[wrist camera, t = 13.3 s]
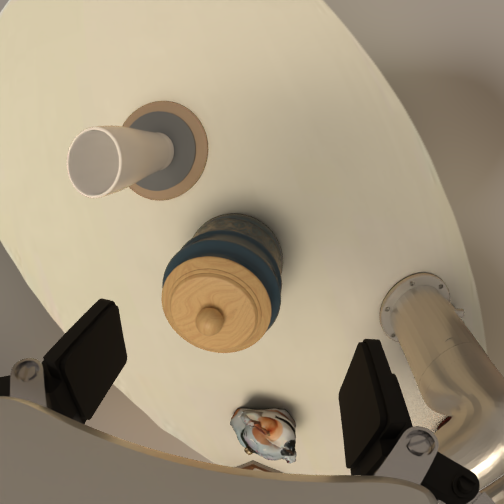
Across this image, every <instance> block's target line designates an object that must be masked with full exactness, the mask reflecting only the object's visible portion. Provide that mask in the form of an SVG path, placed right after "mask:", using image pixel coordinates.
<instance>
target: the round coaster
mask: <svg viewBox="0 0 504 504" xmlns="http://www.w3.org/2000/svg"><path fill="white" fill-rule="evenodd" d="M123 127H129V128H135V129H140V130H145V131H150V132H160V133H163V134H165V135H167V136H168V137H169V138H170V139H171V141H172V143H173V146H174V157H173V159H172V161H171V163H170V164H169V166H168V167H166V168H165V169H163V170H161V171H158V172H156V173H154V174H152V175H150V176H148V177H146V178H144V179H142V180H140V181H138V182H137V183H135V184H133V185H131V186H129V187H130V189H132V190H133V191H134V192H135V193H137V194H139V195H140V196H142V197H145V198H148V199H151V200H169V199H172V198H175V197H178V196H180V195H182V194H183V193H185V192H186V191H188V190H189V189H190V188H191V187H192V186H193V185H194V184H195V183H196V182H197V180H198V179H199V178H200V176H201V174H202V172H203V170H204V168H205V165H206V161H207V155H208V143H207V137H206V133H205V130H204V128H203V126H202V124H201V122H200V121H199V119H198V118H197V117H196V116H195V115H194V114H193V113H192V112H191V111H190V110H189V109H187V108H186V107H184V106H182V105H180V104H177V103H174V102H169V101H158V102H152V103H149V104H146V105H144V106H142V107H140V108H139V109H137V110H136V111H135V112H133V113H132V114H131V115H130V116H129V117H128V119H127V120H126V121H125V123H124V124H123Z"/></svg>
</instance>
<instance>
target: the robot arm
mask: <svg viewBox="0 0 504 504" xmlns="http://www.w3.org/2000/svg"><path fill="white" fill-rule="evenodd" d="M463 316H464V310H463V309H455V308H454V307H453V306H452V304H451V303H450V293H449V290H448V288H447V286H446V285H445V283H444V282H443V281H442V280H441V279H440V278H438V277H437V276H435V275H432V274H428V273H419V274H415V275H411V276H409V277H407V278H405V279H403V280H402V281H400V282H399V283H397V284H396V285H395V286H394V287H393V288H392V289H391V290H390V292H389V293H388V294H387V296H386V297H385V299H384V301H383V303H382V306H381V310H380V323H381V326H382V328H383V331H384V332H385V334H386V335H387V336H388V337H389V338H390V339H392V340H394V341H397V342H399V343H400V345H401V347H402V350H403V352H404V354H405V356H406V359H407V361H408V363H409V366H410V368H411V371H412V373H413V375H414V378H415V380H416V383H417V385H418V388H419V390H420V393H421V395H422V398H423V400H424V402H425V403H426V404H427V406H428V407H429V408H431V409H432V410H433V411H435V412H437V413H440V414H443V415H446V416H451V417H452V418H451V420H450V421H449V422H447V423H446V424H445V425H444V426H442V427H441V428H440V429H439V430H438V431H436V432H435V433H433V432H432V431H430V430H429V429H427V428H424V427H419V426H416V427H413V426H412V423H411V419H410V416H409V413H408V410H407V407H406V404H405V401H404V398H403V395H402V392H401V389H400V386H399V383H398V380H397V377H396V375H395V374H392V373H391V370H390V367H389V364H388V361H387V359H386V356H385V353H384V350H383V348H382V345H381V342H380V340H375V339H364V340H363V342H359V343H358V345H357V348H356V351H355V353H354V356H353V359H352V361H351V364H350V366H349V369H348V371H347V374H346V376H345V379H344V381H343V384H342V386H341V389H340V391H339V405H340V413H341V421H342V430H343V439H344V449H345V459H346V467H347V468H351V475H304V474H286V473H274V472H264V471H255V470H248V469H241V468H234V467H228V466H222V465H217V464H211V463H206V462H201V461H197V460H192V459H188V458H183V457H180V456H176V455H172V454H168V453H164V452H161V451H157V450H154V449H151V448H147V447H144V446H141V445H138V444H135V443H132V442H129V441H126V440H123V439H120V438H117V437H115V436H112V435H109V434H107V433H104V432H101V431H99V430H97V429H94V428H91V427H89V426H87V425H84V424H85V422H86V420H90V419H91V418H92V416H93V414H94V413H95V411H96V409H97V408H98V406H99V405H100V403H101V401H102V400H103V398H104V397H105V395H106V394H107V392H108V390H109V389H110V387H111V386H112V384H113V383H114V381H115V379H116V378H117V376H118V375H119V373H120V372H121V370H122V369H123V367H124V365H125V364H126V361H127V353H126V348H125V343H124V338H123V332H122V326H121V321H120V314H119V309H118V306H116V305H115V303H114V302H113V301H110V300H106V299H99V300H98V301H97V302H96V303H95V304H94V305H93V306H92V307H91V308H90V309H89V310H88V311H87V312H86V313H85V314H84V315H83V316H82V317H81V318H80V319H79V320H78V321H77V322H76V323H75V324H74V325H73V326H72V327H71V328H70V329H69V330H68V331H67V332H66V333H65V334H64V335H63V337H62V338H61V339H60V340H59V341H58V342H57V343H56V344H55V345H54V346H53V347H52V348H51V349H50V350H49V352H47V354H46V355H45V356H44V357H43V358H44V361H43V362H42V363H41V362H40V361H39V360H37V359H34V358H26V359H22V360H20V361H18V362H17V363H16V364H15V365H14V366H13V367H12V369H11V375H10V376H4V377H0V504H504V475H503V476H502V477H501V478H499V479H498V480H496V481H495V482H493V483H492V484H490V485H489V486H487V487H486V488H484V489H482V488H483V487H485V486H486V485H488V484H489V483H491V482H492V481H494V480H495V479H497V478H498V477H500V476H501V475H502V474H503V473H504V377H503V376H502V375H501V373H500V372H499V371H498V369H497V368H496V367H495V365H494V364H493V363H492V361H491V360H490V359H489V357H488V356H487V354H486V353H485V351H484V350H483V348H482V347H481V346H480V345H479V343H478V342H477V340H476V339H475V338H474V336H473V335H472V333H471V332H470V331H469V329H468V328H467V327H466V325H465V324H464V322H463V321H462V320H461V319H460V317H463ZM354 475H361V476H354ZM480 489H482V490H481V491H479V490H480Z"/></svg>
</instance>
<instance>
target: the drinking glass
mask: <svg viewBox="0 0 504 504" xmlns="http://www.w3.org/2000/svg"><path fill="white" fill-rule="evenodd" d="M173 157H174V146H173V143H172V141H171V139H170V138H169V137H168V136H167V135H165V134H163V133H160V132H150V131H145V130H140V129H135V128H129V127H123V126H97V127H90V128H87V129H85V130H83V131H81V132H80V133H79V134H78V135H77V136H76V137H75V138H74V140H73V142H72V143H71V145H70V148H69V151H68V155H67V171H68V175H69V178H70V181H71V183H72V184H73V186H74V187H75V189H76V190H77V191H78V192H79V193H81V194H82V195H84V196H86V197H89V198H100V197H103V196H106V195H110V194H113V193H116V192H118V191H121V190H123V189H125V188H127V187H129V186H131V185H133V184H135V183H137V182H138V181H140V180H142V179H144V178H146V177H148V176H150V175H152V174H154V173H156V172H158V171H161V170H163V169H165V168H166V167H168V166H169V164H170V163H171V161H172V159H173Z"/></svg>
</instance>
